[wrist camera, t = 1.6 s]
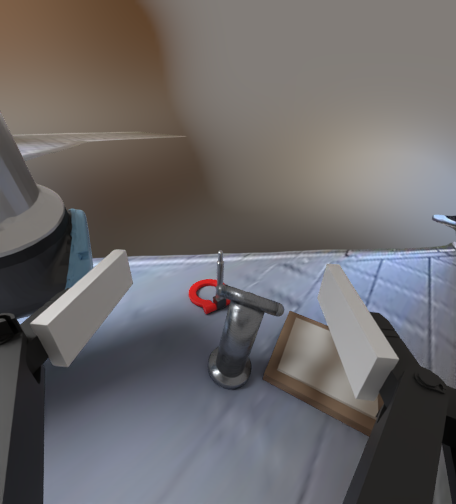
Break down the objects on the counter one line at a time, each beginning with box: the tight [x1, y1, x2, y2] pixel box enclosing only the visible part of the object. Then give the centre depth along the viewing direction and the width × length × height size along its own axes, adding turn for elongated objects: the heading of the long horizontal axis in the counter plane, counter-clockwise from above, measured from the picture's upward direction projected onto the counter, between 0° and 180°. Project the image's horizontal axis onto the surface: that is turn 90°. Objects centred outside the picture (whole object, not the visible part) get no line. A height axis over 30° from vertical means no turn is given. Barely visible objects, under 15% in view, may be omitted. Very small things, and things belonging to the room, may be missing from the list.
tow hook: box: [189, 250, 231, 314], centre depth 45 cm, size 8×13×9 cm
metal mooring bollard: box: [208, 284, 284, 389], centre depth 31 cm, size 9×6×14 cm
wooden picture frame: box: [263, 311, 384, 437], centre depth 35 cm, size 16×14×2 cm
